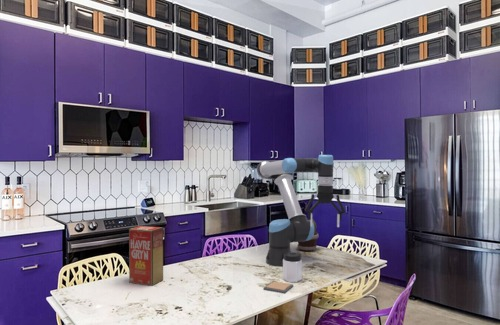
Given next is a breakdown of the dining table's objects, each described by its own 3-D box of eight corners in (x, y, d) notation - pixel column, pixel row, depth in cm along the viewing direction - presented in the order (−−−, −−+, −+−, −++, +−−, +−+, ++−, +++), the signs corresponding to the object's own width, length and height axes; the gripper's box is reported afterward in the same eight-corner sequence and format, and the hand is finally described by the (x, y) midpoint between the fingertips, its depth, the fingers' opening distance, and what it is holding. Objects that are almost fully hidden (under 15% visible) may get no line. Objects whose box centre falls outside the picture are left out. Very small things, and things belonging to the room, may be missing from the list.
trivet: (263, 289, 156) (263, 287, 156) (272, 282, 164) (272, 280, 164) (284, 293, 151) (284, 291, 151) (293, 286, 160) (293, 284, 160)
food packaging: (127, 282, 164) (128, 228, 164) (140, 276, 173) (140, 225, 173) (152, 286, 160) (152, 230, 160) (164, 279, 169) (164, 226, 169)
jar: (304, 281, 167) (304, 255, 167) (288, 283, 164) (288, 257, 164) (295, 275, 175) (295, 251, 175) (280, 277, 172) (280, 252, 172)
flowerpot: (295, 252, 221) (295, 220, 221) (296, 246, 237) (296, 216, 237) (318, 253, 219) (319, 220, 219) (318, 247, 234) (318, 217, 234)
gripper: (301, 185, 180) (300, 227, 180) (351, 186, 178) (350, 228, 178) (300, 183, 187) (299, 224, 188) (348, 184, 185) (348, 225, 185)
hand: (324, 226), depth 183 cm, fingers open, 13 cm apart
